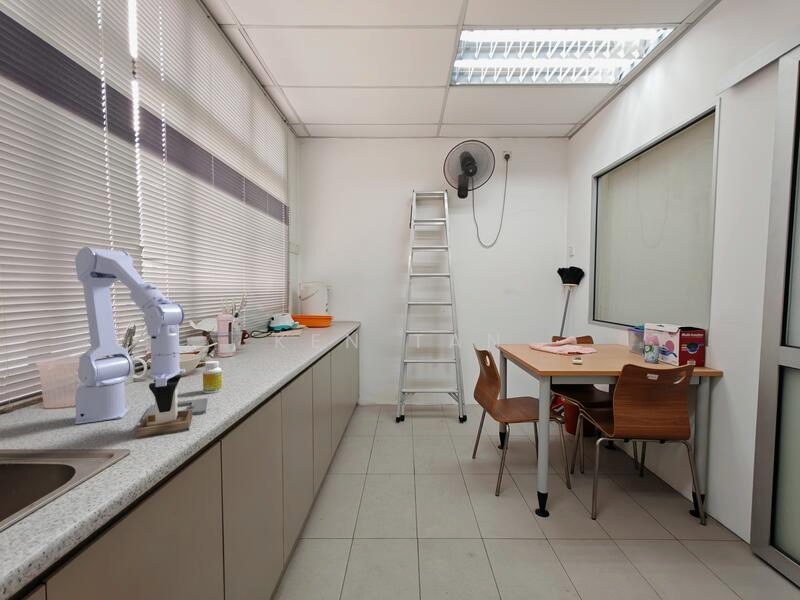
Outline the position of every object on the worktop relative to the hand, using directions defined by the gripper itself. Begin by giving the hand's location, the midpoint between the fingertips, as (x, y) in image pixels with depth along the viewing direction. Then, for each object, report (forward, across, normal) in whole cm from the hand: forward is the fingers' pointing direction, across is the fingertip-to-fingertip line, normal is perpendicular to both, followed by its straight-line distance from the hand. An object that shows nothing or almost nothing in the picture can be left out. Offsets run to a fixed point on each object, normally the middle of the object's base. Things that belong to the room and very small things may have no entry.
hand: (166, 408), depth 83 cm
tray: (+4, 0, 0) cm, 4 cm away
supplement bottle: (+5, +28, -9) cm, 30 cm away
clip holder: (+4, +12, -1) cm, 13 cm away
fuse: (+2, 0, 0) cm, 2 cm away
